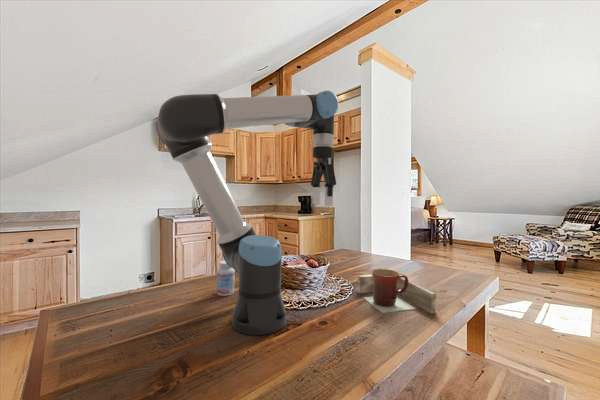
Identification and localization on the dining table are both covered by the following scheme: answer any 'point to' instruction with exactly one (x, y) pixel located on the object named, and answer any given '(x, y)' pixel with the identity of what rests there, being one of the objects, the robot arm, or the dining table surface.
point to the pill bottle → (225, 279)
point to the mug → (386, 286)
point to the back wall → (418, 295)
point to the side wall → (365, 283)
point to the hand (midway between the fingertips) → (321, 205)
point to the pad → (398, 306)
